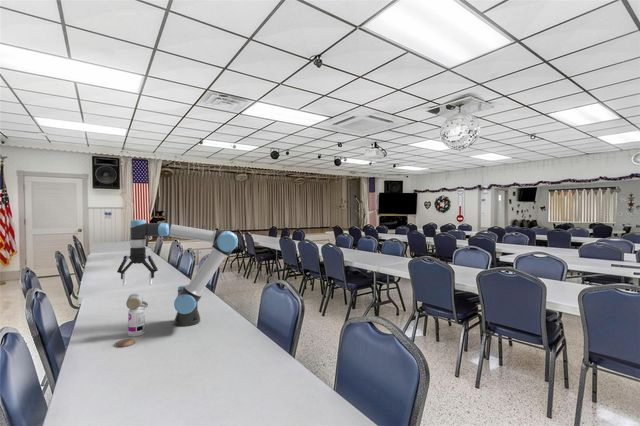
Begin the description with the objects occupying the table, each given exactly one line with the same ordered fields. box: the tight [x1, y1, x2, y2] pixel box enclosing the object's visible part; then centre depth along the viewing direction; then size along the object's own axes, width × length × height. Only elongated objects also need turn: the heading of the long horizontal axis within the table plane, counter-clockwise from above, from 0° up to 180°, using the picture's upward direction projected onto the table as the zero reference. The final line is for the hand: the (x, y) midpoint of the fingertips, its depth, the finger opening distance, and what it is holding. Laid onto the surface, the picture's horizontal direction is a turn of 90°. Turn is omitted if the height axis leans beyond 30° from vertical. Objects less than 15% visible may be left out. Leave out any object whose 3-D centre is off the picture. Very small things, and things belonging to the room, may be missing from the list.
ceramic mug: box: [125, 292, 149, 310], centre depth 178 cm, size 11×8×8 cm
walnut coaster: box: [115, 338, 137, 348], centre depth 165 cm, size 9×9×1 cm
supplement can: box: [127, 307, 146, 338], centre depth 178 cm, size 8×8×15 cm
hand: (137, 284), depth 178 cm, fingers open, 13 cm apart
